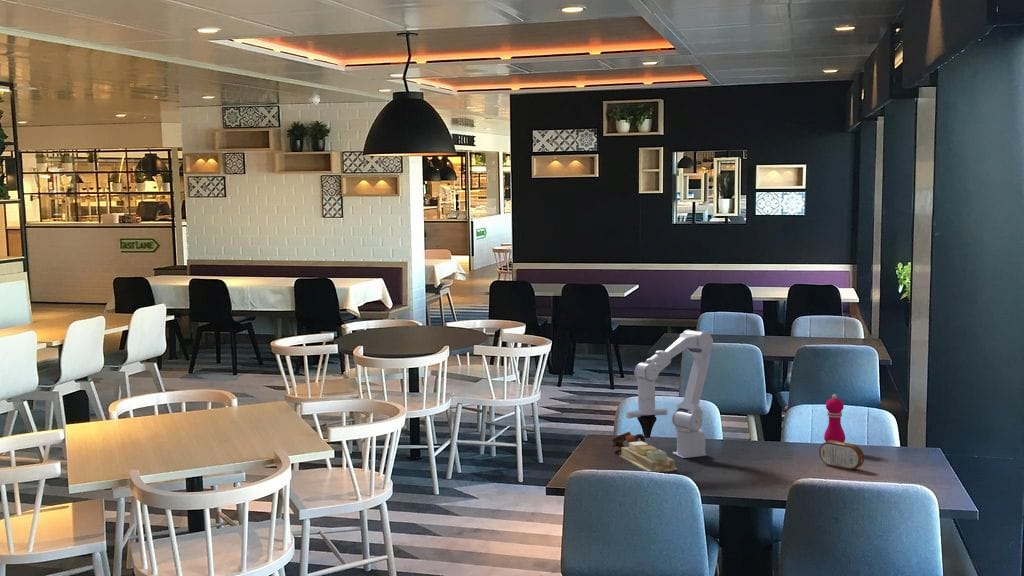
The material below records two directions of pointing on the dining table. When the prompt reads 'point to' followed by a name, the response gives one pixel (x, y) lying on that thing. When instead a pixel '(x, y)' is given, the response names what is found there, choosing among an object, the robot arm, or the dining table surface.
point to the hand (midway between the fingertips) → (647, 437)
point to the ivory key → (636, 445)
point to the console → (647, 461)
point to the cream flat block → (645, 449)
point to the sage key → (656, 455)
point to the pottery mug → (628, 437)
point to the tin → (841, 454)
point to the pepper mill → (834, 420)
